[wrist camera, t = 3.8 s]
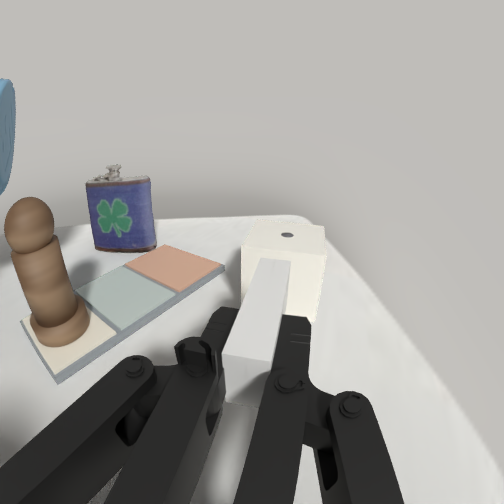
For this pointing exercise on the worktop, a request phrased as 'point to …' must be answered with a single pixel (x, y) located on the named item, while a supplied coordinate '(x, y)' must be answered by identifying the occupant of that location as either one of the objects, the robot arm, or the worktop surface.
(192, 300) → the worktop surface
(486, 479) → the worktop surface
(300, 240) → the white die
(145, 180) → the flask
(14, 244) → the pawn
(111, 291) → the board
